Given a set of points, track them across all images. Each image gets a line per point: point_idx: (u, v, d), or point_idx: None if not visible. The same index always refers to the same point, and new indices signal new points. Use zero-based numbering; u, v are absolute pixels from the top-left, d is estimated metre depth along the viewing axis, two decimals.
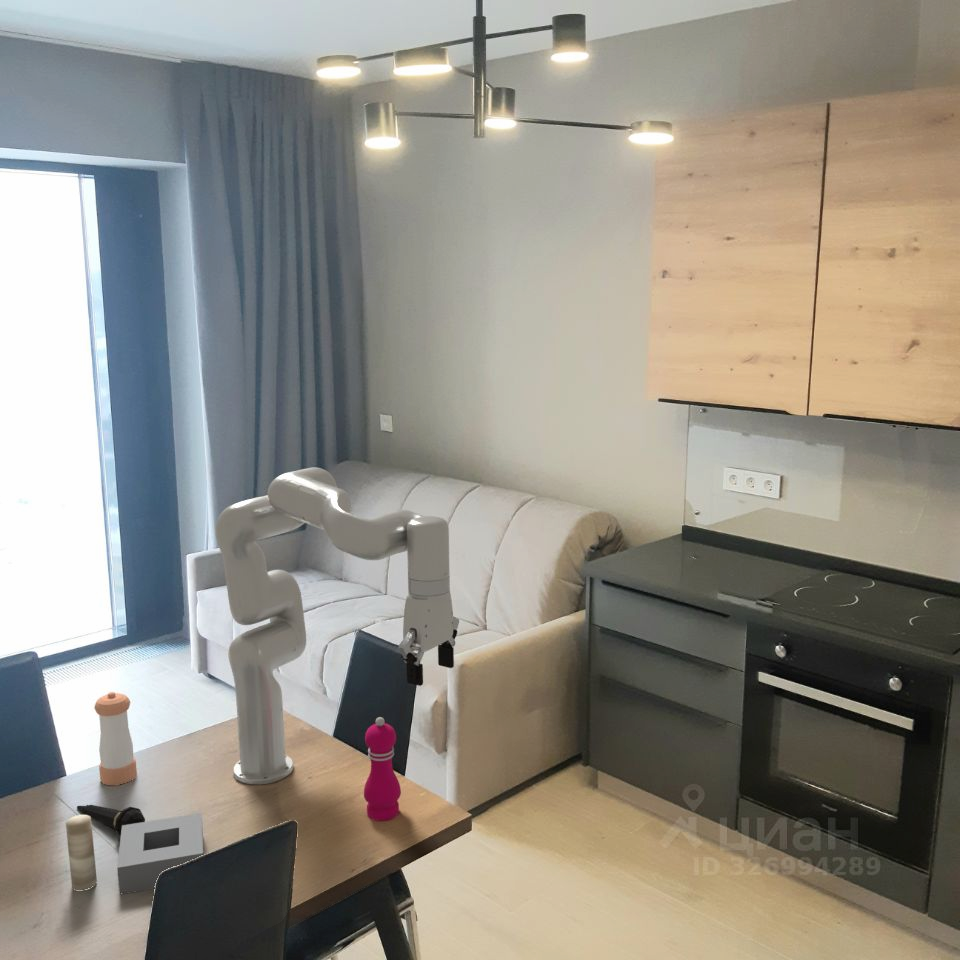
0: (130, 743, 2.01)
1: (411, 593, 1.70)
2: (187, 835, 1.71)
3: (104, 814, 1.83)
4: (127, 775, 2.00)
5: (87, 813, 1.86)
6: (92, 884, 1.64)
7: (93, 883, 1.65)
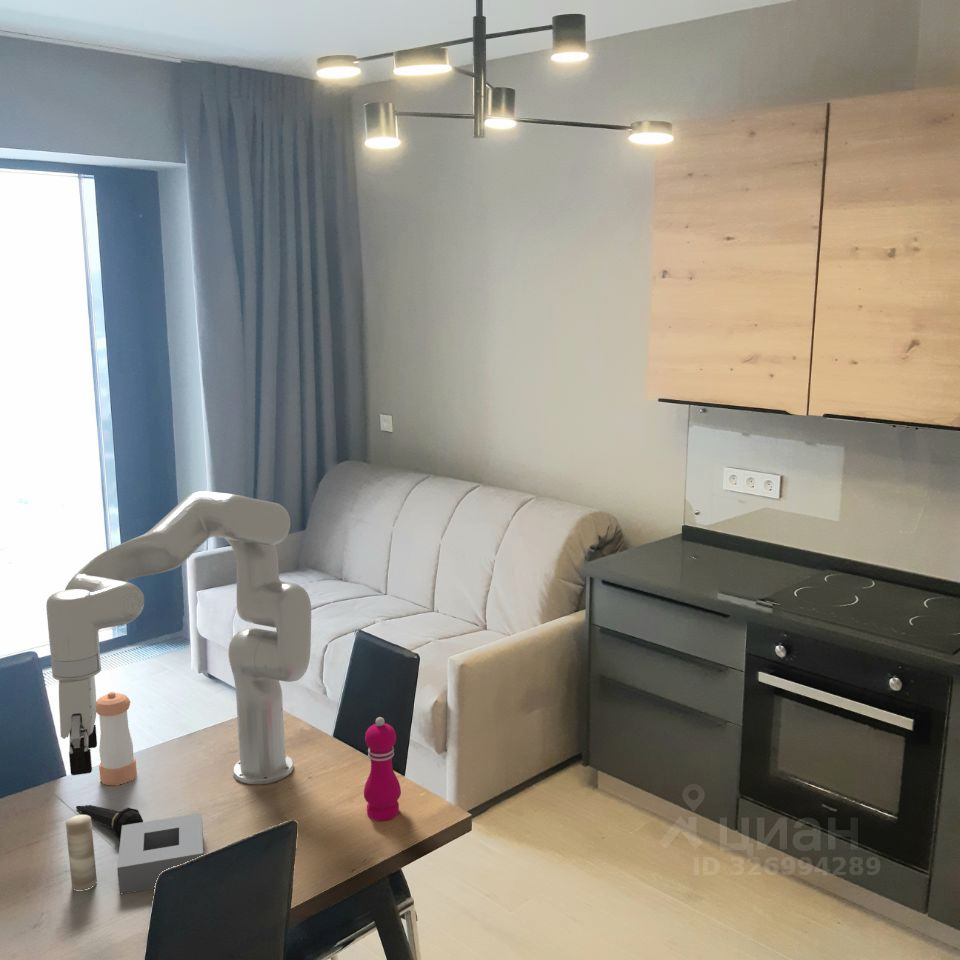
0: (130, 743, 2.01)
1: (65, 677, 1.55)
2: (187, 835, 1.71)
3: (102, 814, 1.83)
4: (127, 775, 2.00)
5: (86, 813, 1.86)
6: (92, 884, 1.64)
7: (93, 883, 1.65)
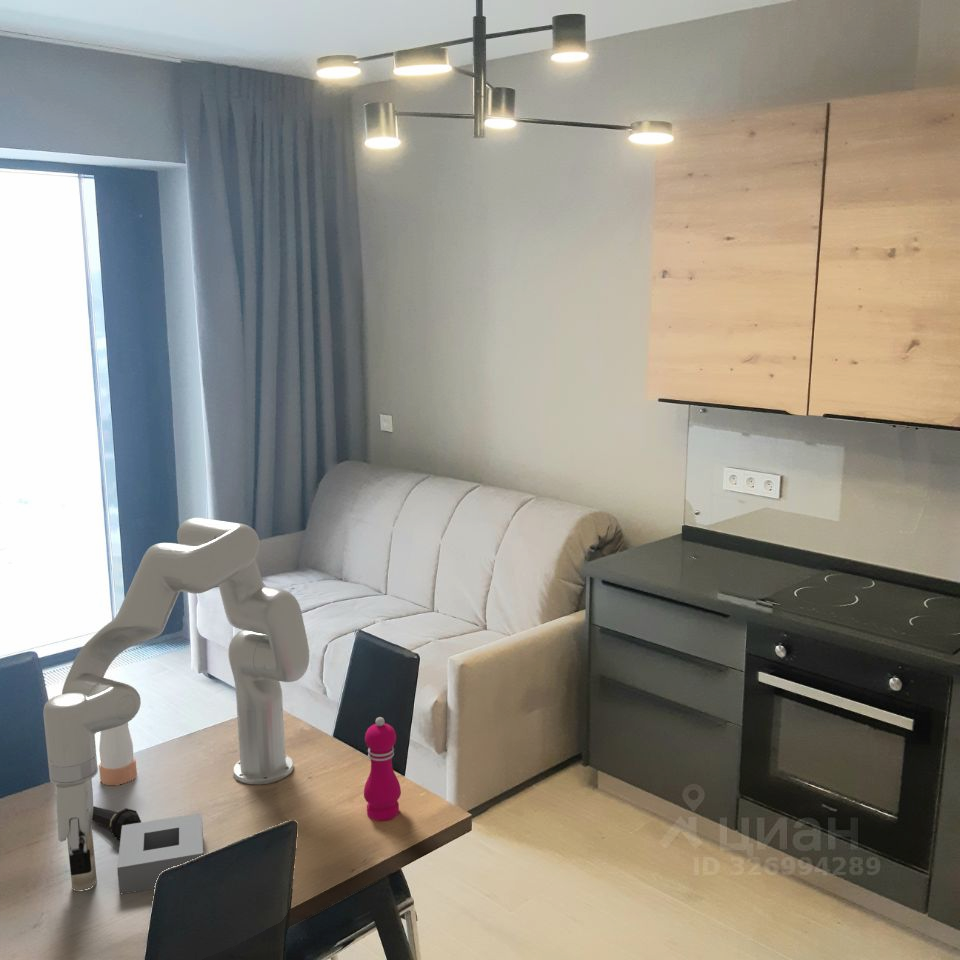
0: (130, 743, 2.01)
1: (62, 782, 1.58)
2: (187, 835, 1.71)
3: (100, 815, 1.83)
4: (127, 775, 2.00)
5: None
6: (92, 884, 1.64)
7: (93, 883, 1.65)
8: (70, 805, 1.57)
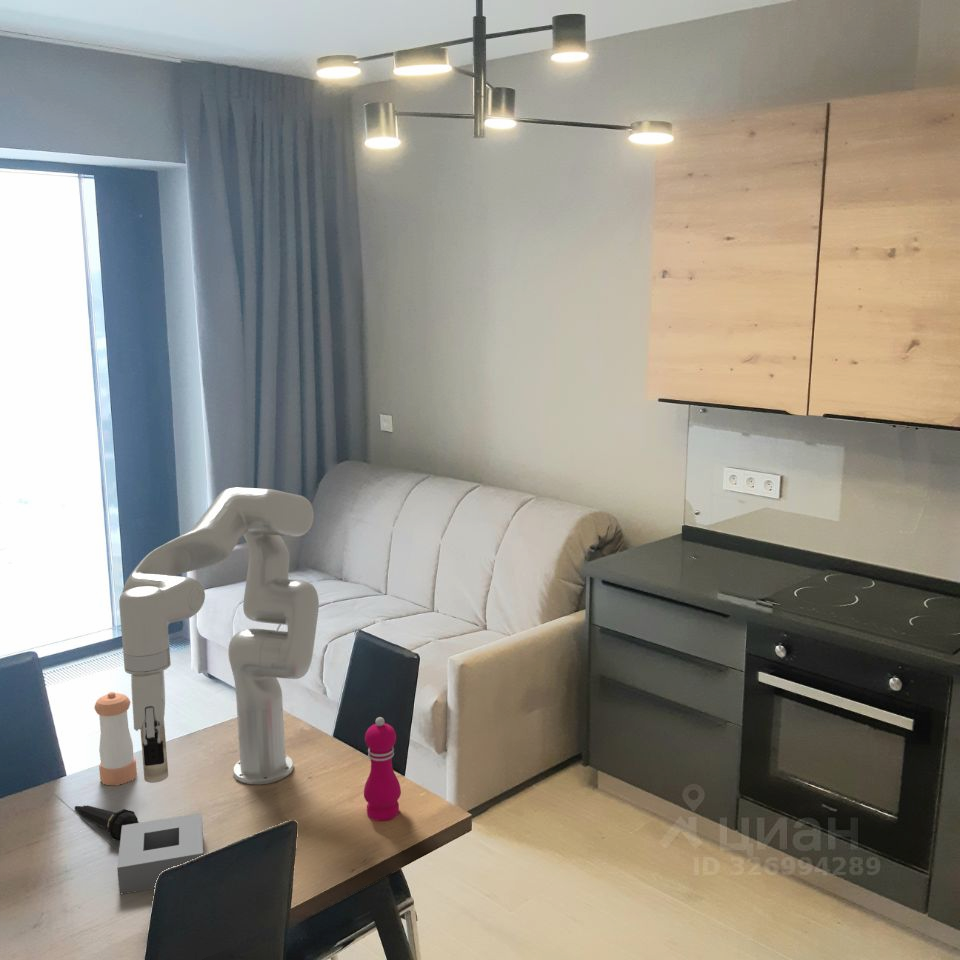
0: (130, 743, 2.01)
1: (138, 671, 1.60)
2: (187, 835, 1.71)
3: (99, 815, 1.82)
4: (127, 775, 2.00)
5: (83, 814, 1.86)
6: (164, 776, 1.67)
7: (165, 775, 1.67)
8: (146, 694, 1.60)
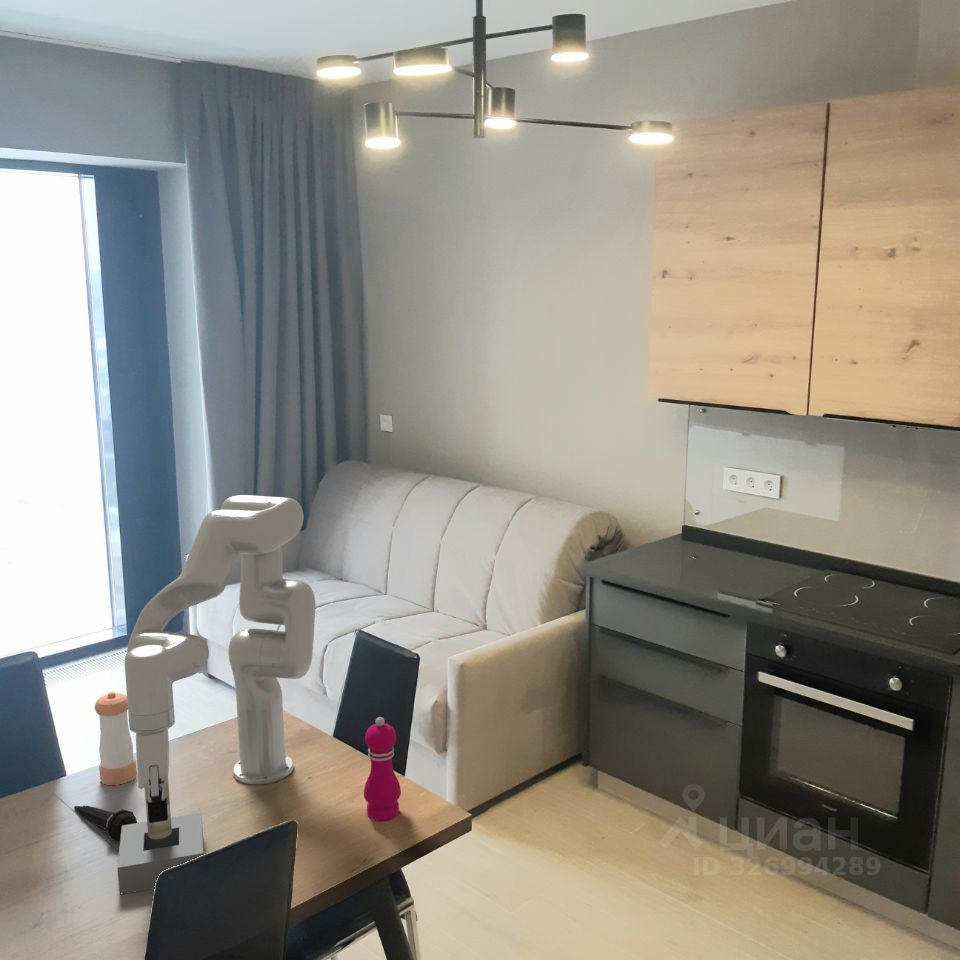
0: (130, 743, 2.01)
1: (142, 730, 1.62)
2: (187, 835, 1.71)
3: (98, 816, 1.82)
4: (127, 775, 2.00)
5: (83, 814, 1.86)
6: (168, 832, 1.69)
7: (169, 831, 1.69)
8: (150, 753, 1.62)
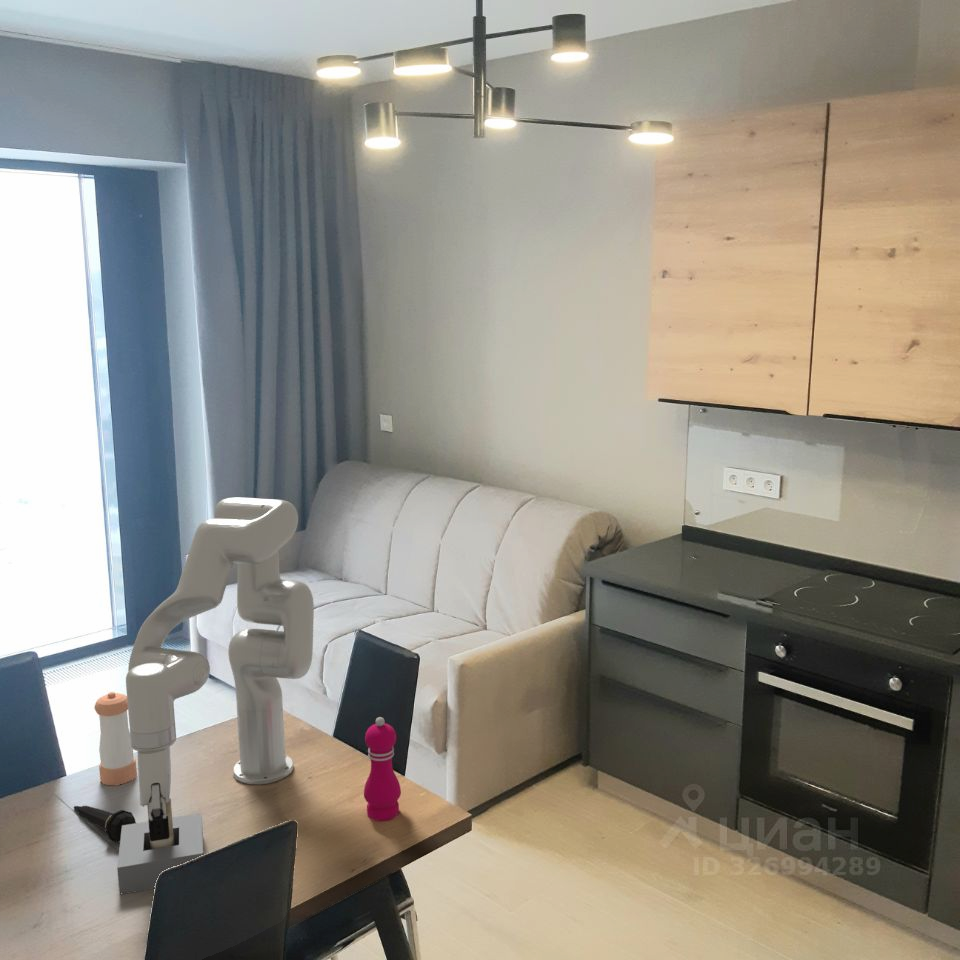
0: (130, 743, 2.01)
1: (144, 748, 1.63)
2: (187, 835, 1.71)
3: (97, 816, 1.82)
4: (127, 775, 2.00)
5: (82, 814, 1.86)
6: None
7: None
8: (152, 771, 1.62)
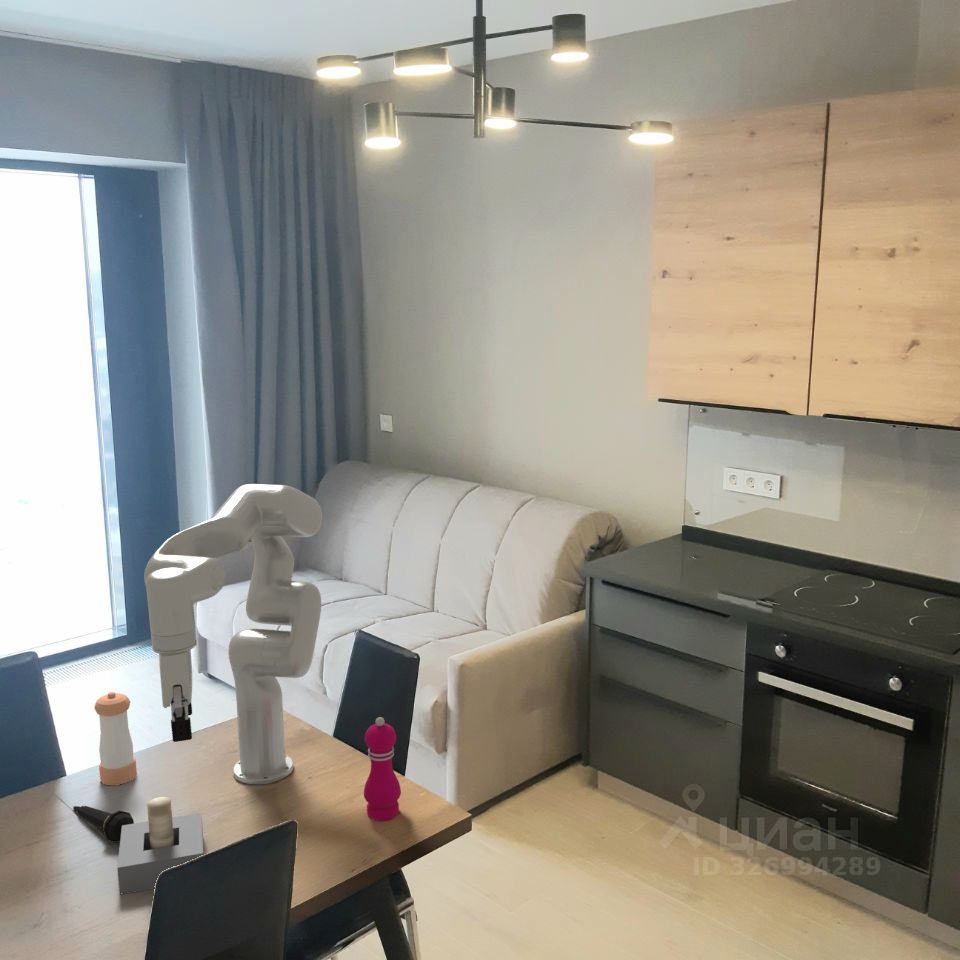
0: (130, 743, 2.01)
1: (165, 651, 1.64)
2: (187, 835, 1.71)
3: (95, 816, 1.82)
4: (127, 775, 2.00)
5: (81, 814, 1.86)
6: None
7: None
8: (174, 673, 1.64)
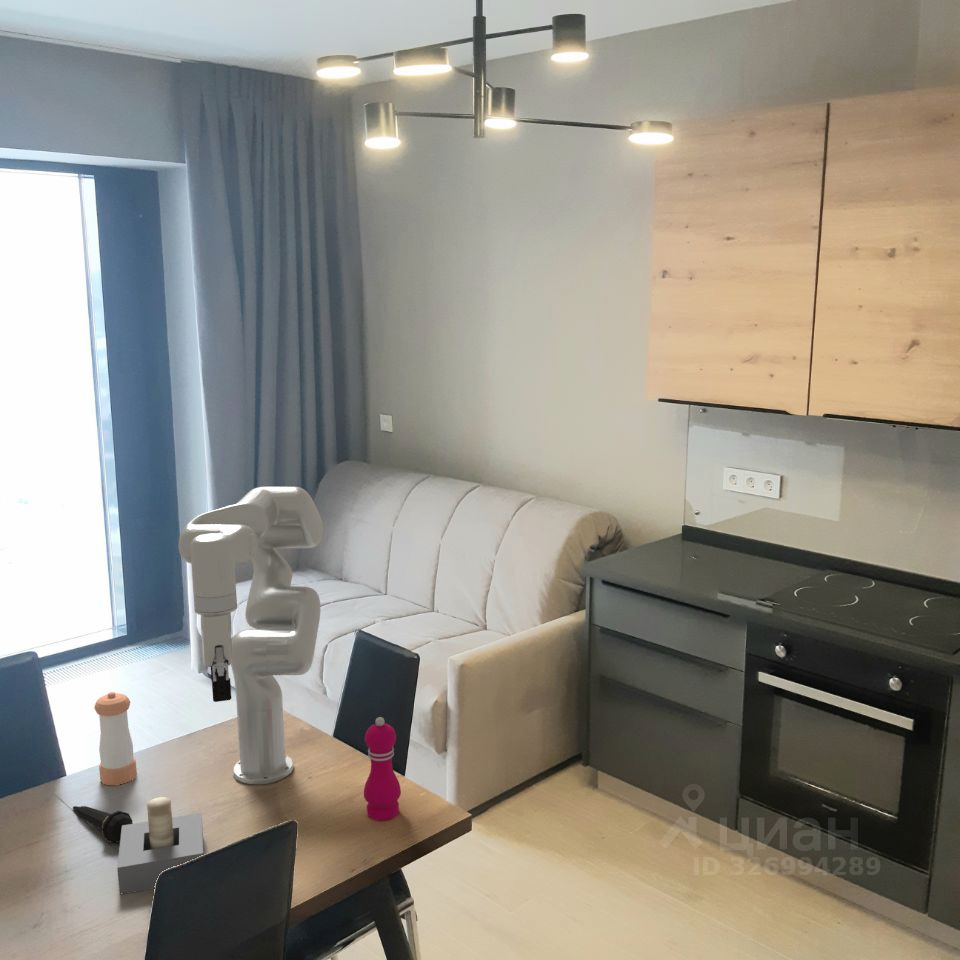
0: (130, 743, 2.01)
1: (208, 612, 1.70)
2: (187, 835, 1.71)
3: (94, 816, 1.82)
4: (127, 775, 2.00)
5: (80, 814, 1.86)
6: None
7: None
8: (216, 633, 1.70)
